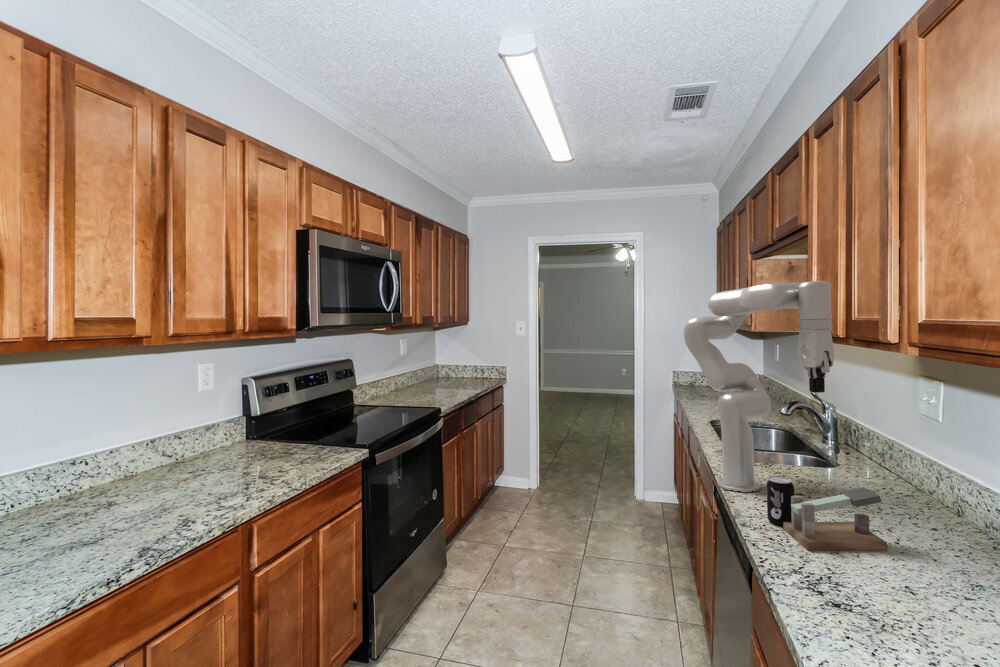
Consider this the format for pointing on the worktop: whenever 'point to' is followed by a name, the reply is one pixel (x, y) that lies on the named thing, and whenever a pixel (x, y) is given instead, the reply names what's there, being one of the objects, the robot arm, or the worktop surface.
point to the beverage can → (779, 499)
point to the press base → (831, 532)
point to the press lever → (841, 500)
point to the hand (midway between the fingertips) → (817, 391)
